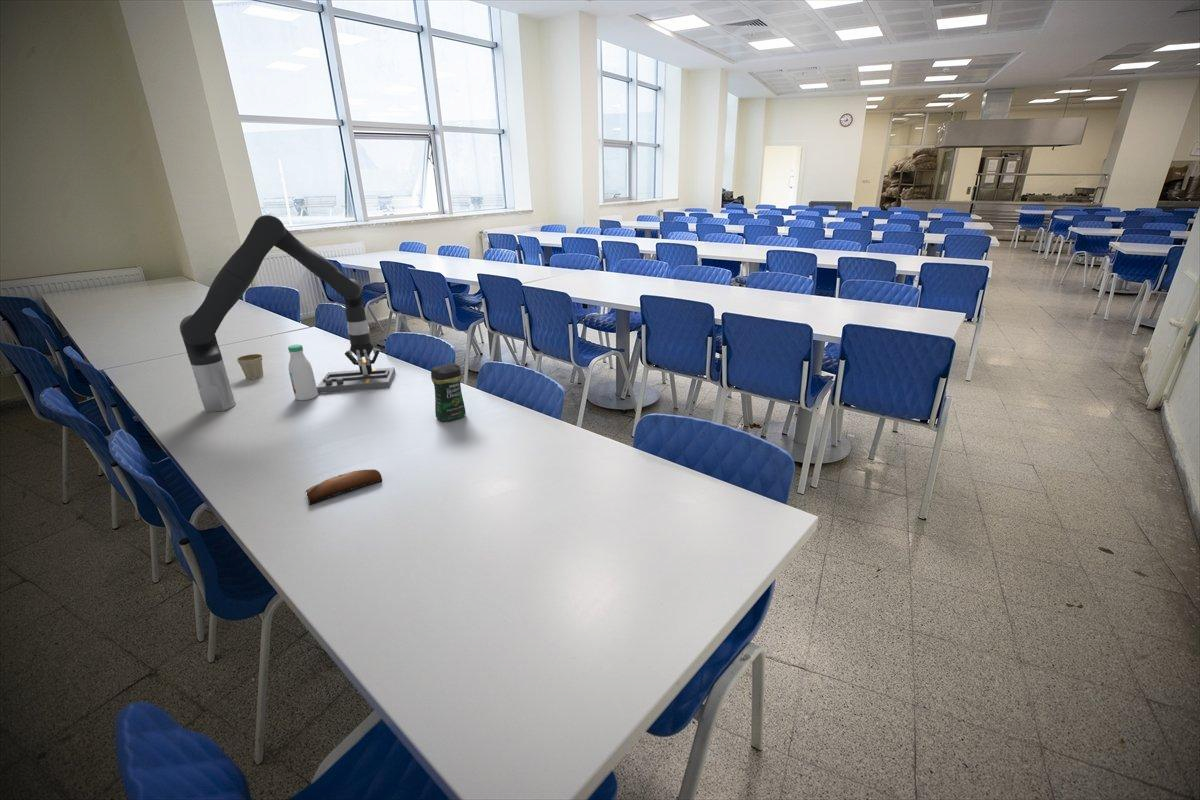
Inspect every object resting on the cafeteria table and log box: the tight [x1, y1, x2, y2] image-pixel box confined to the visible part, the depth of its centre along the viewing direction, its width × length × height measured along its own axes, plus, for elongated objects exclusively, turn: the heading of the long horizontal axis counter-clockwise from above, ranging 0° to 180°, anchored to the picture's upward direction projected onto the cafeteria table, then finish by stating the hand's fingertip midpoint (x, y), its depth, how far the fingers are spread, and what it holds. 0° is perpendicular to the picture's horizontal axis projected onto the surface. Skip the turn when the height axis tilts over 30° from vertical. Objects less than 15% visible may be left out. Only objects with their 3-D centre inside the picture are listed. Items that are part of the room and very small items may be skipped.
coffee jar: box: [430, 362, 467, 422], centre depth 179 cm, size 10×8×19 cm
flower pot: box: [235, 353, 264, 380], centre depth 221 cm, size 9×9×9 cm
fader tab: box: [361, 358, 370, 376], centre depth 213 cm, size 4×2×6 cm, turn 12°
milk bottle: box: [287, 344, 319, 401], centre depth 197 cm, size 8×8×20 cm
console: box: [316, 367, 396, 394], centre depth 214 cm, size 18×26×4 cm
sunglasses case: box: [305, 469, 383, 505], centre depth 140 cm, size 18×7×7 cm
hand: (366, 373), depth 214 cm, fingers closed on fader tab
